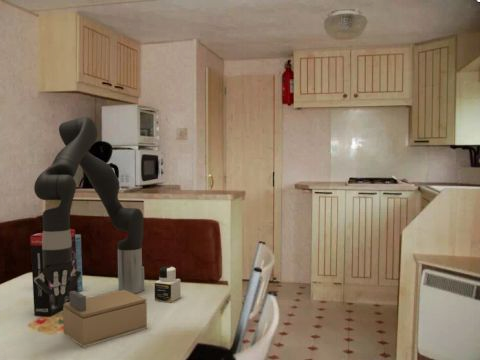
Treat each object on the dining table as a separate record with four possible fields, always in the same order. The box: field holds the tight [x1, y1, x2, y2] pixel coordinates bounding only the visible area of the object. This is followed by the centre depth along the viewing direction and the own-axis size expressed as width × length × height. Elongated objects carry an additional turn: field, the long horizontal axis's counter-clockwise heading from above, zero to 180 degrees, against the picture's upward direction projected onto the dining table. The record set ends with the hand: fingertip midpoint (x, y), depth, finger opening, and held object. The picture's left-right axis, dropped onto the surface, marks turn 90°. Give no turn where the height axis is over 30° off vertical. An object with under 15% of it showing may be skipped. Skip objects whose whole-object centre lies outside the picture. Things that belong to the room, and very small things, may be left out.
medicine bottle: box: [154, 265, 182, 304], centre depth 162 cm, size 7×7×12 cm
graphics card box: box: [29, 228, 79, 317], centre depth 152 cm, size 17×7×27 cm, turn 168°
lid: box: [63, 290, 147, 318], centre depth 131 cm, size 20×14×5 cm
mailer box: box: [62, 301, 148, 348], centre depth 131 cm, size 20×14×8 cm
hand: (58, 307), depth 122 cm, fingers closed
